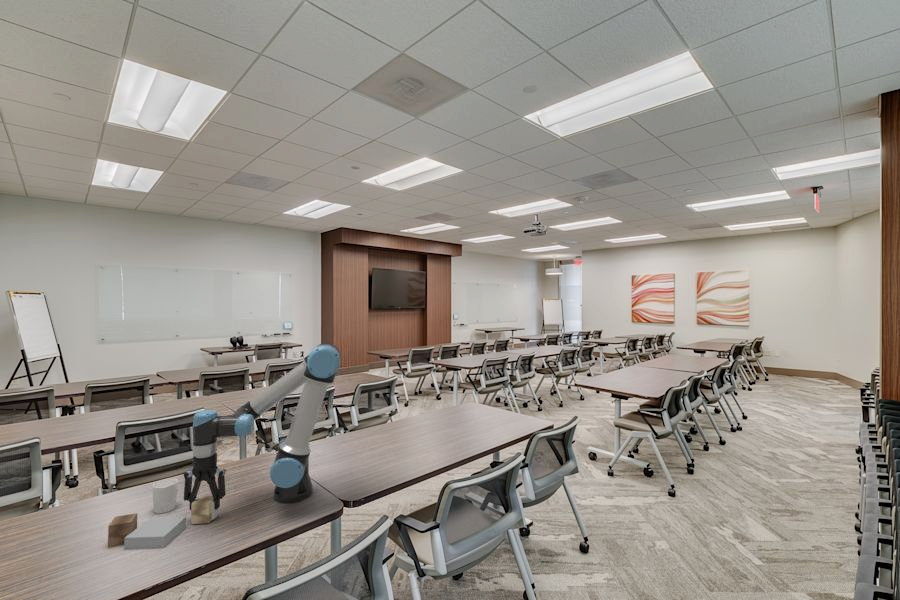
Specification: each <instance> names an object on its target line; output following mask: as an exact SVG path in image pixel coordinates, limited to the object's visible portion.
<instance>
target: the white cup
mask: <svg viewBox="0 0 900 600" xmlns="http://www.w3.org/2000/svg"><path fill="white" fill-rule="evenodd" d="M178 484H179V479H178V478H165V479H162V480H159V481H157V482H154V483H153V484H152V501H153V502H152V503H153V512H154V514H166V513H169V512H171V511H172V510H175V508H177V499H178V490H179V489H178V487H179V485H178Z"/></svg>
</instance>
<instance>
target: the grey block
mask: <svg viewBox="0 0 900 600" xmlns="http://www.w3.org/2000/svg"><path fill="white" fill-rule="evenodd" d="M186 527H187V516H165V517H164V516H163V517H157V516H156V517H149V518H148V519H146V520H145V521H144V522H142V524H140V525H139V526H137V529H135V530H134V531H133V532H131V533H130V534H129V535H128V536H126V537H125V542H124V545H123V546H124V547H123V549H124V550H139V549H141V550H142V549H143V550H144V549H162V548H163V549H164V548H165V547H166V546H167V545H169V544H170V543H171V542H172V541H173V540H174V539H175V538H176V537H177V536H178V535H179V534H180V533H181V532H183V531H184V529H185V528H186Z"/></svg>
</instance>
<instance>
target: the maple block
mask: <svg viewBox="0 0 900 600" xmlns="http://www.w3.org/2000/svg"><path fill="white" fill-rule="evenodd" d="M196 499H197V500H196ZM196 499H195V500H196V501H194V502H193V503H192V504H191V512H190V513H191V516H190V517H191V518H190V519H191V520H190V521H191V523H190V524H191V525H196V524H197V525H199V524H200V525H201V524H202V525H203V524H210V523H211V521H212V520H211V502H212V501H213V500H214V499H213V496H212V495H200V496H199V497H197V498H196ZM218 510H219V508H218V509H217V515H218V514H219V513H218Z"/></svg>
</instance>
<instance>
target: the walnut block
mask: <svg viewBox="0 0 900 600" xmlns="http://www.w3.org/2000/svg"><path fill="white" fill-rule="evenodd" d="M137 528H138V513H137V512H135V513H130V514H124V515H118V516H115V517H114V518H113V519H112V520H111V522H110V523H109V525H108V526H107V531H108V532H107V533H108V534H107V548H115V547H119V546H124V542H125V537H126V536H128V535H129V534H130V533H131V532H133V531H134V530H135V529H137Z"/></svg>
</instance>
